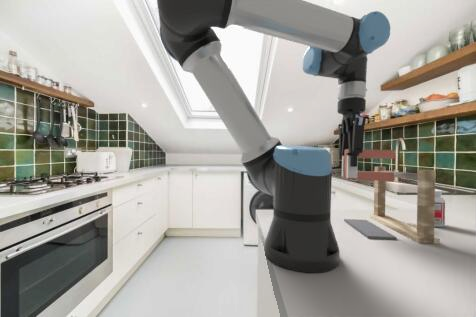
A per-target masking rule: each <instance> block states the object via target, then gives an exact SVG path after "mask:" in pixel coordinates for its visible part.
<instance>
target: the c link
mask: <svg viewBox="0 0 476 317" xmlns="http://www.w3.org/2000/svg"><path fill="white" fill-rule="evenodd" d="M347 153H349V149H345V150H344V177H343V180H350V181H354V180H355V181H374V180H375V181H386V182H394V181H395V177H394V172H375V170H373V171H369V170H368V171H365V170H364V171H363V170H357V178H347V156H351V155H346V154H347ZM395 156H396V150H395V149H364V148H363V151H362V153H359V156H358V159H382V160H384V159H386V160H388V159H389V160H395V158H396V157H395Z"/></svg>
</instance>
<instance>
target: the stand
mask: <svg viewBox="0 0 476 317" xmlns="http://www.w3.org/2000/svg"><path fill="white" fill-rule="evenodd" d="M386 169H387V167H386V166H374V172H394V178H397V179H403V180H405V179H406V180H411V181H413V180H414V181H417V192H416V193H417V194H416V195H417V196H416V197H417V200H416V201H417V202H416V227H414V226H412V225H409V224H408V223H405V222H402V221H400V220H398V219H396V218H393V217H392V216H389V215H387V214H386V184H387V181H375V180H373V181H374V185H373V186H374V189H373V190H374V192H373V195H374V196H373V213H370V214H369V218H371V219H373V220H374V221H376V222H378V223H380V224H382V225H383V226H386V227H388V228H389V229H391V230H393V231H395V232H397V233H399V234H400V235H403V236H404V237H407V238H408V239H410V240H412V241H414V242H416V243H418V244H437V245H440V243H441V242H440V241H441V239H440V238H439V237H436V236H435V227H434V218H435V190H436V170H435V169H433V170H432V169H417V173H414V172H404V171H393V170H386Z"/></svg>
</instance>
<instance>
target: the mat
mask: <svg viewBox="0 0 476 317" xmlns="http://www.w3.org/2000/svg"><path fill="white" fill-rule="evenodd" d="M343 222H345V223H346V224H348V225H349V226H350V227H351V228H353V229H355V231H357V232H359V233H360V234H361V235H363V236H364V237H366V239H373V240H375V239H377V240H396V241H397V236H395V235H394V234H392V233H390V232H388V231H387V230H385V229H383V228H381V227H380V226H377V225H376V224H374V223H373V222H371V221H369V220H367V219H351V218H349V219H348V218H344V219H343Z"/></svg>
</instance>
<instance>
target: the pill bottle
mask: <svg viewBox="0 0 476 317" xmlns="http://www.w3.org/2000/svg"><path fill="white" fill-rule="evenodd" d="M442 195H443V190H441V189H435V218H434V228H443V227H445V225H446V221H445V220H446V200H445V198H444V197H442Z"/></svg>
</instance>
